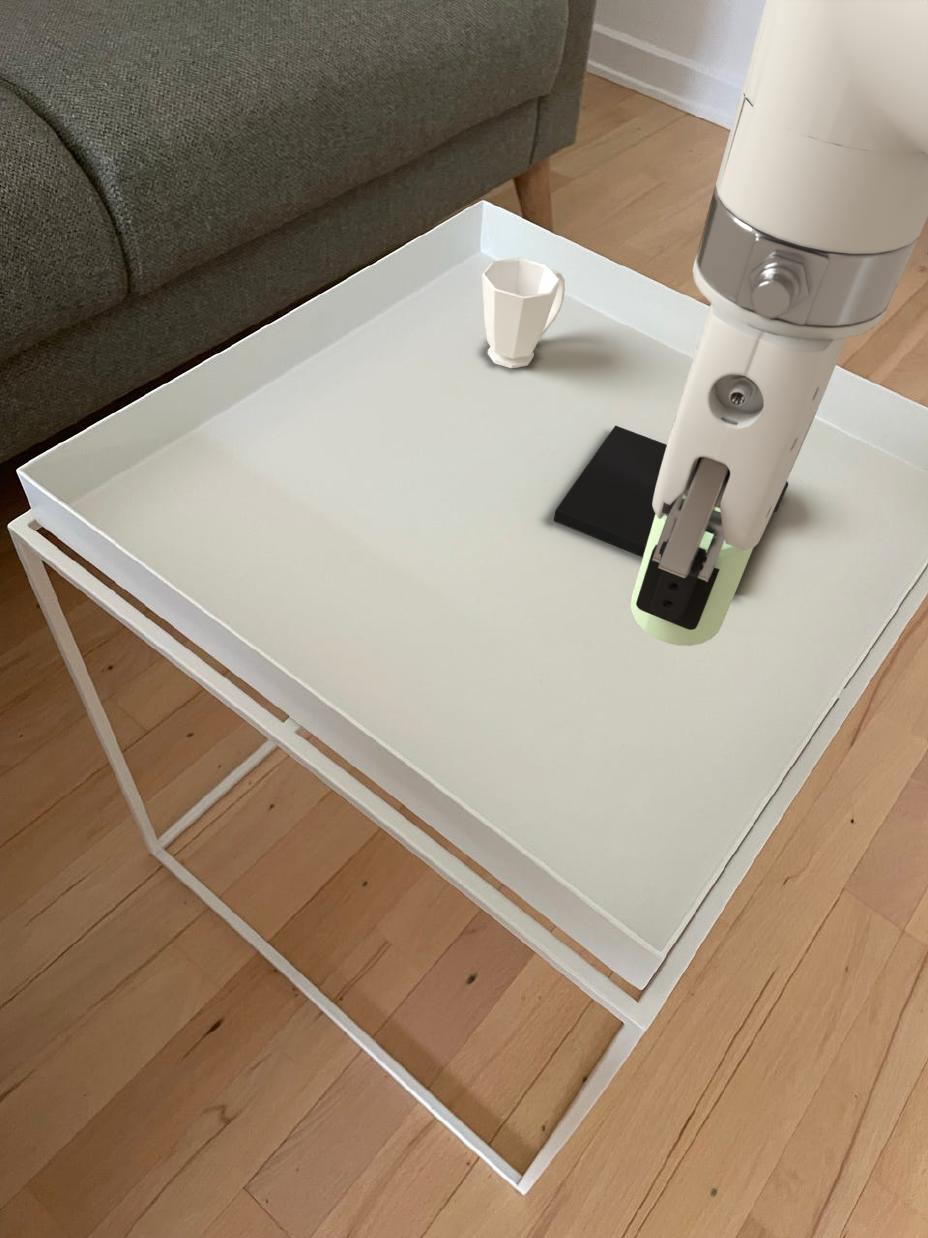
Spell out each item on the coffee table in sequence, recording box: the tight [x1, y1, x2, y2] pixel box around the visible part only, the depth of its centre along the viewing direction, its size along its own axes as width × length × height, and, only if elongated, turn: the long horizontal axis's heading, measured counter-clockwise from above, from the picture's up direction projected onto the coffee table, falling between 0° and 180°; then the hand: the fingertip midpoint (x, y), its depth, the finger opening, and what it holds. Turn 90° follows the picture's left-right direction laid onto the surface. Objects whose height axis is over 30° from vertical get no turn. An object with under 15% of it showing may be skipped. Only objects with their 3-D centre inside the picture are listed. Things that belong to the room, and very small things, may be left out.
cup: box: [481, 257, 566, 369], centre depth 91 cm, size 7×10×8 cm
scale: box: [553, 424, 789, 558], centre depth 79 cm, size 16×13×3 cm
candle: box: [630, 497, 754, 647], centre depth 50 cm, size 5×5×8 cm
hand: (682, 582), depth 51 cm, fingers closed on candle, 4 cm apart
